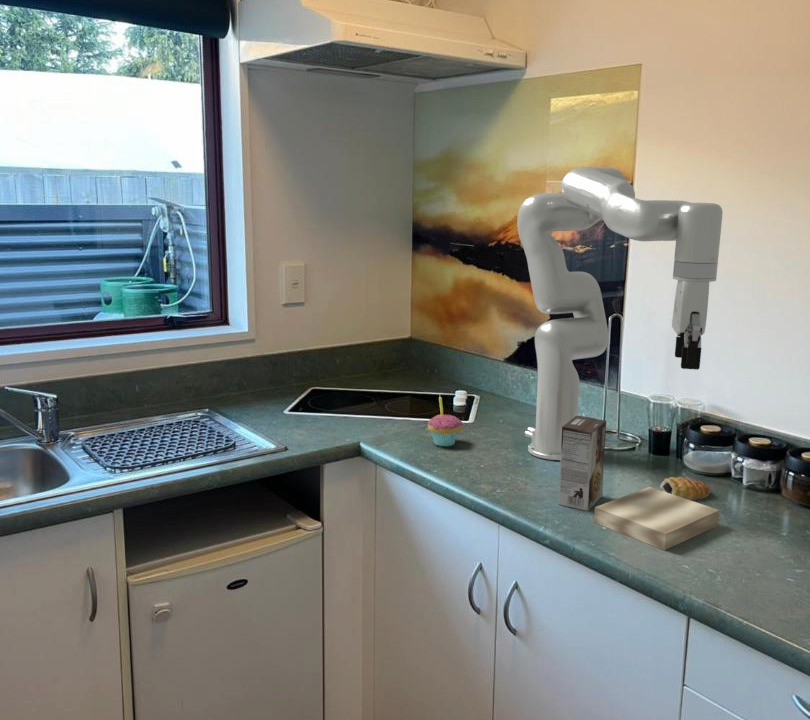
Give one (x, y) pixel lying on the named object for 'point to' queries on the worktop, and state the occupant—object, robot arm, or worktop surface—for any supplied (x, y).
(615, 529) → the birch base
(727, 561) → the worktop surface
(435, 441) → the cupcake
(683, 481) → the pastry
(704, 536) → the worktop surface
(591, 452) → the coffee box
